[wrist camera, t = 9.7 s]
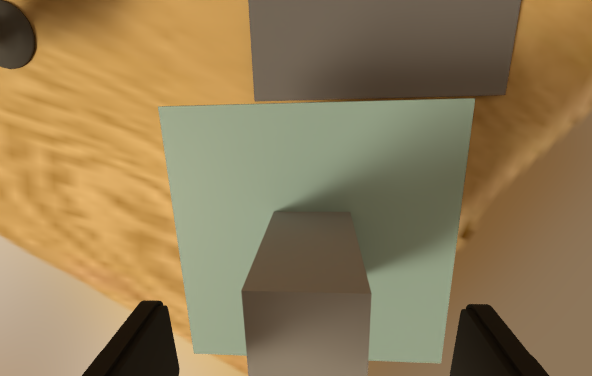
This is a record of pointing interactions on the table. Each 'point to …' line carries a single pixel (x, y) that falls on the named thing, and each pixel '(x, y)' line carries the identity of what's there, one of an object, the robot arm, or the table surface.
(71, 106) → the table surface
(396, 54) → the mat
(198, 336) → the lid
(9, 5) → the sundae
